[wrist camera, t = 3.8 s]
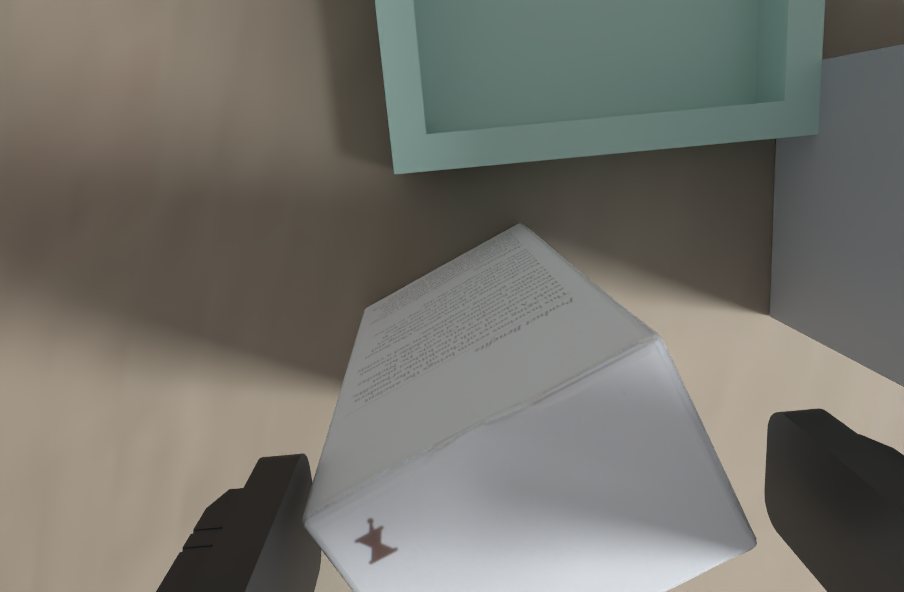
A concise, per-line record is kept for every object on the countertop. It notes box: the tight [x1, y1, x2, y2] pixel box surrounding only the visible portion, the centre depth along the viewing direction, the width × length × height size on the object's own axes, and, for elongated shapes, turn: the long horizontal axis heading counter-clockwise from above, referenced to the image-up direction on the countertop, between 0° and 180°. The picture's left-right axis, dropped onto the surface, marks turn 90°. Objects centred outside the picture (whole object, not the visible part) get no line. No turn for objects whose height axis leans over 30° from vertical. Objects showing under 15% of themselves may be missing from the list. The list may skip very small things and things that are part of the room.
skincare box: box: [302, 223, 757, 592], centre depth 15 cm, size 6×4×12 cm
